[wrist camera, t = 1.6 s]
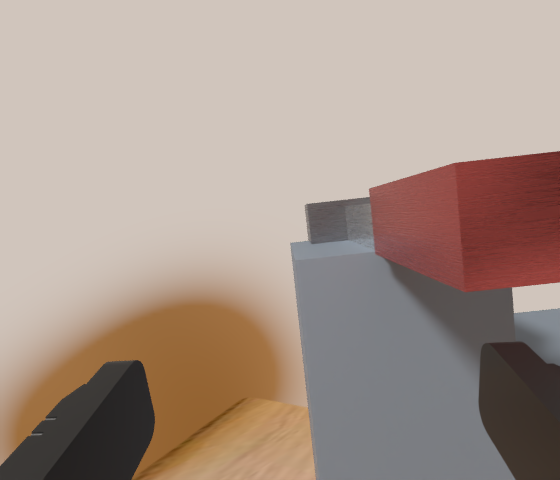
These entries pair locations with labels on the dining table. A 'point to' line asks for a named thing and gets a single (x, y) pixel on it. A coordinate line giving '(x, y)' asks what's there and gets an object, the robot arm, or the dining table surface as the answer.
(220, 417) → the dining table surface
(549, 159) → the grey red bar
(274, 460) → the dining table surface
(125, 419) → the robot arm
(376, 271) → the stand
